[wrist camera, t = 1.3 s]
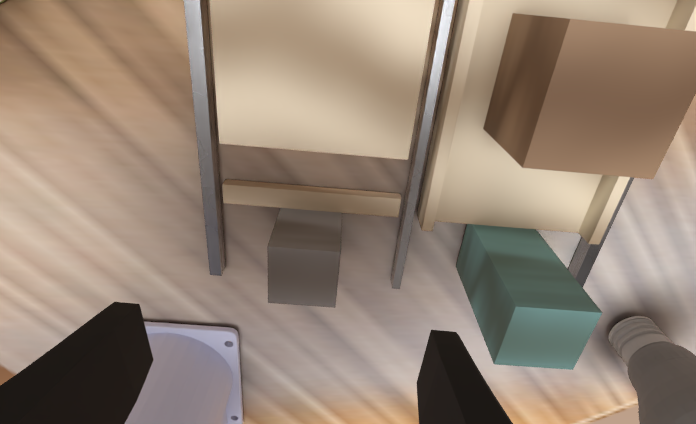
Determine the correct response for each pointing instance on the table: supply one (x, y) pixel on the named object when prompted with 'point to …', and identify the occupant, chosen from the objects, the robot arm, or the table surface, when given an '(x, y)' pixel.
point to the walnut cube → (591, 94)
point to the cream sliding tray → (520, 189)
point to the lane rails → (585, 252)
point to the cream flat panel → (316, 114)
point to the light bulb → (657, 371)
